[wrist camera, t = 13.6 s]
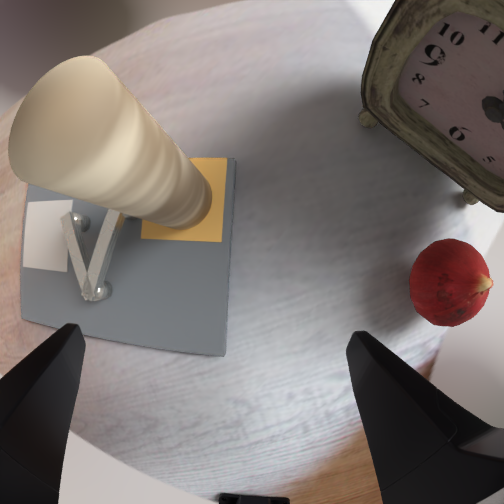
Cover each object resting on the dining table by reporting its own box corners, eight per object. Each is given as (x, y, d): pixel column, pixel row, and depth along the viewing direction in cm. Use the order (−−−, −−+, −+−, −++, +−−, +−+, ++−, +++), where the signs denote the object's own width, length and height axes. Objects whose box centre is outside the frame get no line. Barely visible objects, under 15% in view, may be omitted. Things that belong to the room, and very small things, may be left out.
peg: (210, 230, 21) (94, 177, 7) (151, 228, 21) (-3, 189, 7) (214, 168, 21) (127, 42, 7) (156, 170, 21) (29, 74, 7)
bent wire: (135, 302, 21) (119, 306, 18) (74, 293, 21) (55, 296, 19) (141, 202, 21) (125, 195, 19) (79, 203, 22) (61, 197, 19)
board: (225, 352, 21) (223, 357, 20) (28, 317, 23) (20, 318, 22) (236, 162, 22) (234, 157, 21) (36, 174, 23) (29, 171, 22)
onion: (430, 329, 20) (489, 355, 12) (379, 292, 21) (430, 308, 13) (463, 267, 20) (527, 269, 12) (415, 227, 21) (475, 212, 13)
